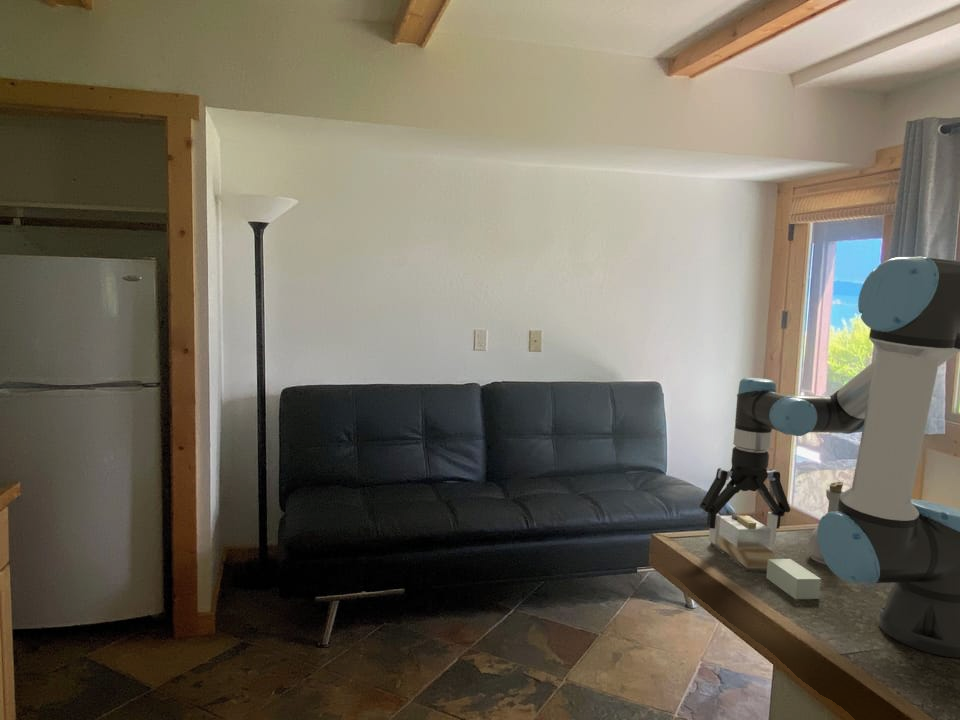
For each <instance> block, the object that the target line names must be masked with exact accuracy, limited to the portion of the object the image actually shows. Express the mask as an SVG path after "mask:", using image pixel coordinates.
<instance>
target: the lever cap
mask: <svg viewBox="0 0 960 720" xmlns="http://www.w3.org/2000/svg"><path fill="white" fill-rule="evenodd" d="M720 516H721V517H720V527H719V535H720V536H722V537H723V538H725V539H726V540H727V541H729V542H730V543H732V544H733V545H734V546H736V547H766V548H770V545H771V543H770V535H771V529H769V528H768V527H766V526H767V525H764V524H763V523H761V522H759V521H758V520H756V519H754V518H753V517H751V516H750V515H742V514H738V513H732V514H731V515H720Z"/></svg>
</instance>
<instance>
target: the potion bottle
mask: <svg viewBox="0 0 960 720" xmlns="http://www.w3.org/2000/svg"><path fill="white" fill-rule="evenodd" d="M843 486H844V483H843V482H841V481H836V482H834V481H833V482H831V483H829V488H828V489H827V488H826V491H825V493H826V495H825V496H826V498H827V500H828V507H827V513H829V512H831V511H837V509H838V503H839V498H840V494H841V493H843V492H844V491H842V490H843ZM817 529H818V526H817V527H815V528H814V530H813V531H812V533H811V535H810V538H809V541H808V543H807V545H808V550H809V554H811V560H813V561H814V562H817V563H818V564H821V565H824V566H828V565H827V564H826V562H825V561H824V558H823V556H822V554H821V552H820V549H819V545H818V539H817Z"/></svg>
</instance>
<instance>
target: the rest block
mask: <svg viewBox="0 0 960 720" xmlns="http://www.w3.org/2000/svg"><path fill="white" fill-rule="evenodd" d="M765 578H766V579H767V580H769V581H770V582H771V583H773V584H774V585H775V586H777V587H778V588H779V589H781V590H783V592H785V593H786V594H787V595H789V596H790V597H792V598H793V599H794V600H817V599H818V600H819V599H820V594H821V593H820V592H821V582H822V579H821V578H820V577H818V576H817V575H816V574H815V573H812V572H811V571H809V570H808V569H807V568H805V567H804V566H802V565H800V564H799V563H797V562H796V561H794V560H793V559H792V558H775V559H768V565H767V572H766V576H765Z"/></svg>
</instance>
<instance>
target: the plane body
mask: <svg viewBox="0 0 960 720" xmlns="http://www.w3.org/2000/svg"><path fill="white" fill-rule="evenodd" d="M710 545H711V546H713V547H714V548H715V549H716V548H717V549H716V550H718V551H719V550H720V551H721V552H720V551H719V552H720V553H722V552H723V553H724V554H725V555H724V554H723V553H722V554H723V555H724V556H726V555H727V556H728V557H729V559H730V558H731V559H732V560H733V561H732V560H731V559H730V560H731V561H732V562H734V561H735V562H736V563H737V564H739V565H740V566H741V567H742V568H741V569H743V568H744V569H745V570H746V571H745V570H744V569H743V570H744V571H745V572H747V571H748V572H747V573H767V565H768V559H776V553H775V552H774V551H772V550H770V549H769V547H736V546H734V545H733V544H732V543H730V542H729V541H727V540H726V539H725V538H723V537H722V536H720V535H719V538H718V544H713V543H712V542H711V541H710ZM727 556H726V557H727ZM728 557H727V558H728ZM735 562H734V563H735ZM736 563H735V564H736ZM737 564H736V565H737ZM739 565H738V566H739ZM740 566H739V567H740ZM749 571H750V572H749Z"/></svg>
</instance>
